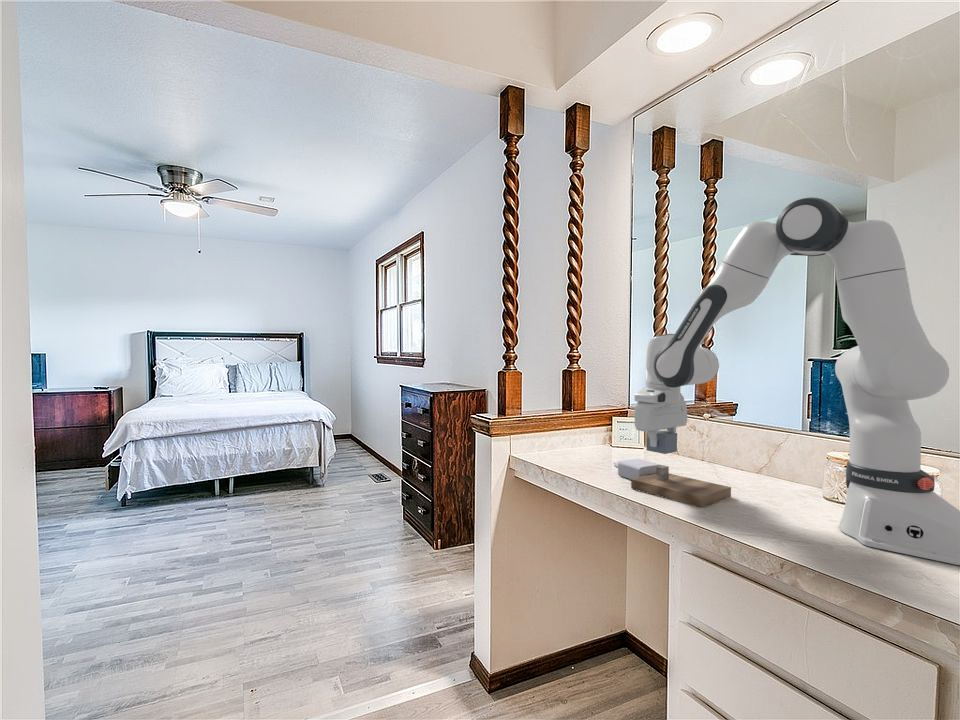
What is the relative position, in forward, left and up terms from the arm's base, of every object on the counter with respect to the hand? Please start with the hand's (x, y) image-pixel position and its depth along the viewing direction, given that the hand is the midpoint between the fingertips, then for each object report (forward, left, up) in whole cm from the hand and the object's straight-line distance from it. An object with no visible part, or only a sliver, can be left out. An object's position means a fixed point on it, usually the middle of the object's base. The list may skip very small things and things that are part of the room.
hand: (661, 445), depth 131 cm
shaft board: (-5, 0, -12) cm, 13 cm away
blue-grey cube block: (0, 0, -2) cm, 2 cm away
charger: (+13, -6, -12) cm, 19 cm away
